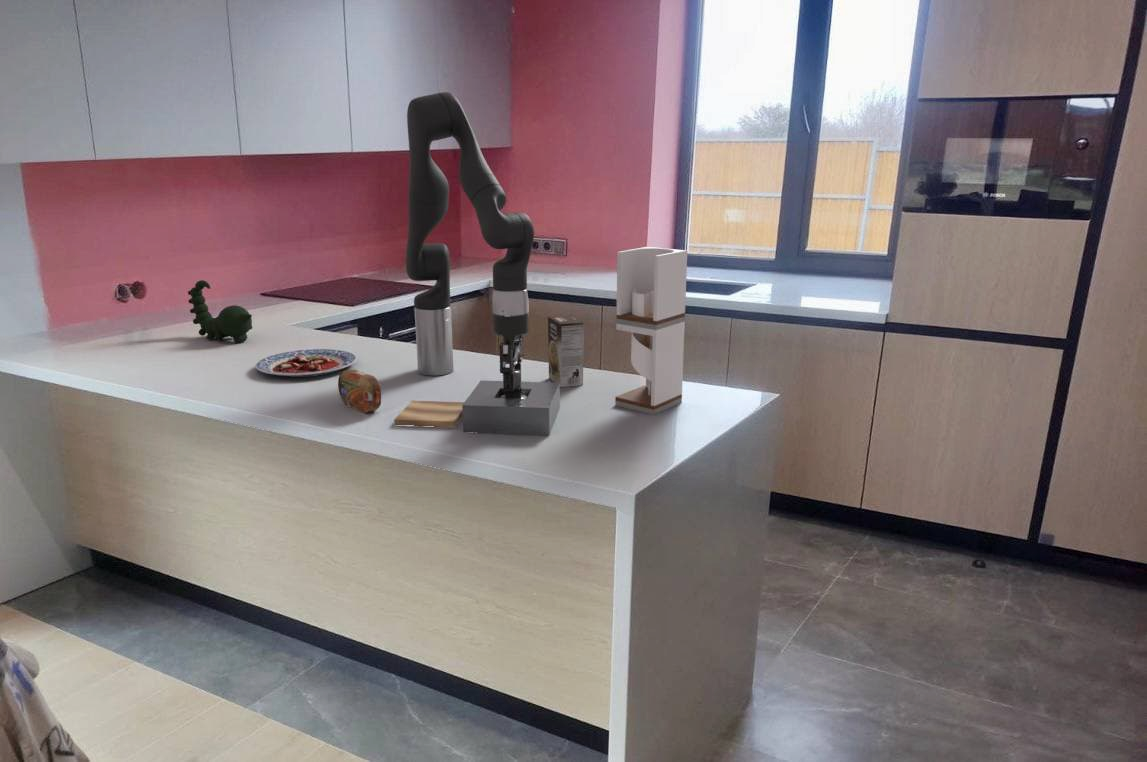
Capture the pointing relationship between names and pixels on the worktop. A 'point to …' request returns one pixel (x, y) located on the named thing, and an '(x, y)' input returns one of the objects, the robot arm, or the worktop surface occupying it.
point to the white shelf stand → (653, 323)
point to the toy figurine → (219, 318)
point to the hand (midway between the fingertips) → (512, 384)
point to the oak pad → (431, 414)
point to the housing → (512, 409)
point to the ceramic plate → (306, 362)
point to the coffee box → (565, 350)
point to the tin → (359, 390)
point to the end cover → (515, 387)
